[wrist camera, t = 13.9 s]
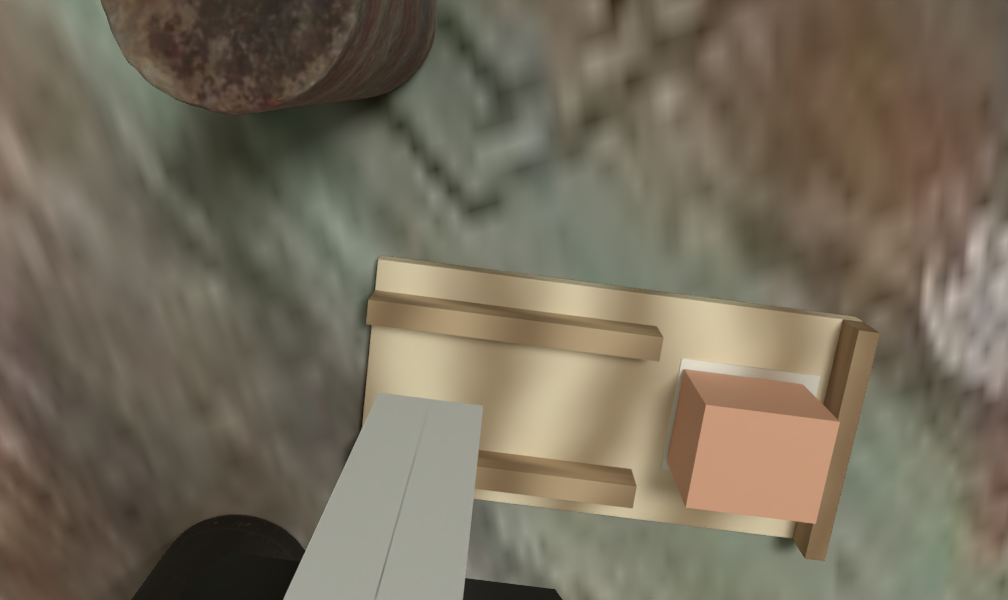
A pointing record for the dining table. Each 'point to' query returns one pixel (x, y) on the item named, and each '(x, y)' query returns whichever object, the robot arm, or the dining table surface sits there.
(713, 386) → the block
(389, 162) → the dining table surface
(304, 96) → the candle
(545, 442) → the chute
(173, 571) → the container
